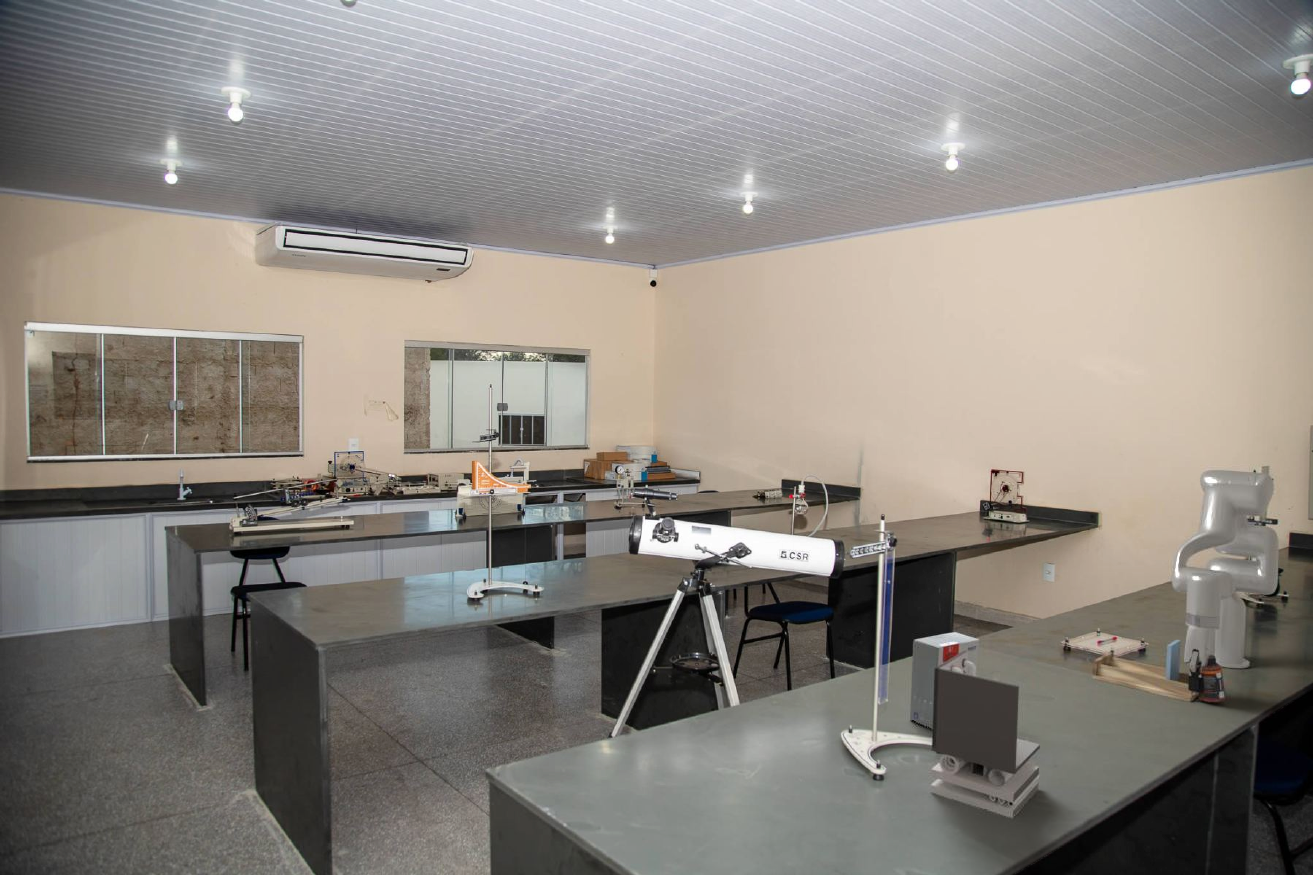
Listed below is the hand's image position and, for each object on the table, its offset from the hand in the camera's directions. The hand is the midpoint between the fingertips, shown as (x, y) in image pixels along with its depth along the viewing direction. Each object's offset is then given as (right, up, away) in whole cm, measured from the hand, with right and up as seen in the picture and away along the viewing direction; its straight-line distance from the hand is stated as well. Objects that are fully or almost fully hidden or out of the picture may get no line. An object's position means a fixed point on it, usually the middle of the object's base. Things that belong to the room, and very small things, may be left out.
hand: (1199, 688), depth 220 cm
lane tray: (-7, -2, +11) cm, 14 cm away
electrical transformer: (-77, -5, -53) cm, 93 cm away
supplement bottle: (+2, -3, -2) cm, 4 cm away
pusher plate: (-3, -1, +7) cm, 8 cm away
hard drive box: (-73, -3, -16) cm, 75 cm away
